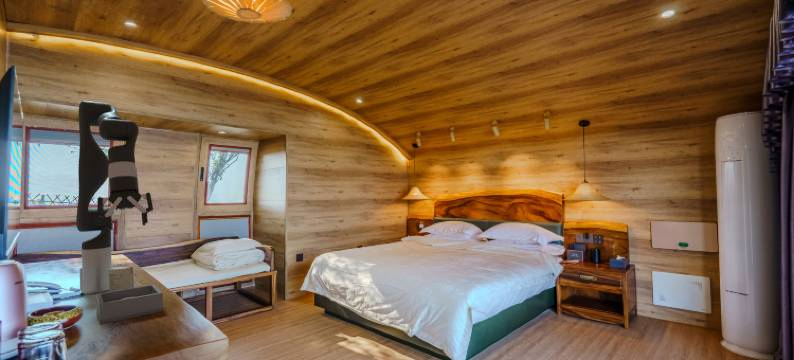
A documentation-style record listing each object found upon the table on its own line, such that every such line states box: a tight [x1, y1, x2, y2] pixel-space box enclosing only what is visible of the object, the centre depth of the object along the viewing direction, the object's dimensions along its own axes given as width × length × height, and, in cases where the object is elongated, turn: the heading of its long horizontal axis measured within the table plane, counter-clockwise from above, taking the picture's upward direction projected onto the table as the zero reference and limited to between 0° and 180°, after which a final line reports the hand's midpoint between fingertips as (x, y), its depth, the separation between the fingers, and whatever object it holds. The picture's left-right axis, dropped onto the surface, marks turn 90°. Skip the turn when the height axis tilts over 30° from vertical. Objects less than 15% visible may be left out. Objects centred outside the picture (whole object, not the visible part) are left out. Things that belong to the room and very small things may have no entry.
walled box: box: [96, 283, 164, 326], centre depth 122 cm, size 16×16×6 cm
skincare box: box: [108, 266, 135, 292], centre depth 134 cm, size 6×4×12 cm
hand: (127, 227), depth 118 cm, fingers open, 8 cm apart
